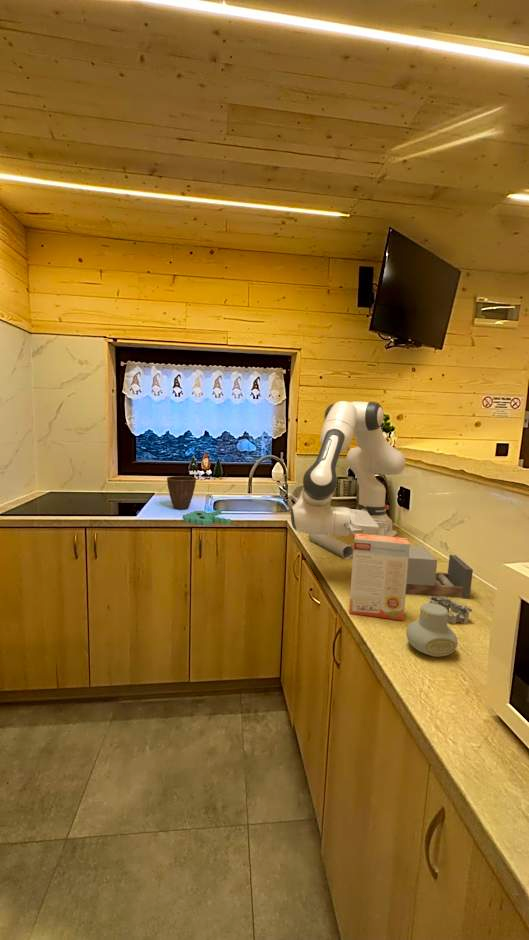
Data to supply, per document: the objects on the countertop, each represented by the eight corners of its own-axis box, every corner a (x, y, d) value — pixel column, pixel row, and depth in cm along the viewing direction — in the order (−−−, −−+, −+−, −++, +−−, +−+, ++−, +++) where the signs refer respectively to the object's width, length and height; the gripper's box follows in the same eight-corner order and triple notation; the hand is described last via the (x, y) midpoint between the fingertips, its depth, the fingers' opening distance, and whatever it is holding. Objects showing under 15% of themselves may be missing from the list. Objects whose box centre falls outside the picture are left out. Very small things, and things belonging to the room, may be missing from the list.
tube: (304, 531, 178) (340, 549, 155) (315, 526, 180) (352, 543, 158) (307, 542, 179) (343, 561, 157) (317, 537, 181) (355, 555, 159)
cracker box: (401, 611, 116) (408, 537, 113) (403, 621, 110) (410, 543, 108) (349, 604, 119) (354, 531, 116) (348, 613, 113) (354, 537, 111)
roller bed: (392, 593, 128) (395, 564, 127) (383, 577, 141) (385, 550, 140) (469, 598, 127) (472, 569, 126) (452, 581, 140) (455, 555, 138)
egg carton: (472, 625, 111) (474, 610, 111) (445, 625, 110) (447, 610, 110) (449, 606, 122) (451, 592, 121) (424, 606, 121) (426, 592, 120)
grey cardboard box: (400, 583, 127) (403, 557, 126) (390, 567, 140) (392, 544, 139) (434, 585, 127) (437, 559, 126) (421, 569, 140) (423, 546, 139)
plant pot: (160, 507, 223) (160, 477, 220) (183, 503, 234) (183, 475, 232) (178, 513, 213) (179, 481, 211) (201, 508, 224) (202, 478, 222)
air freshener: (415, 660, 93) (419, 617, 92) (399, 640, 101) (403, 600, 100) (462, 659, 94) (467, 616, 93) (443, 639, 103) (447, 600, 101)
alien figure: (220, 514, 217) (180, 515, 209) (220, 510, 216) (180, 511, 209) (231, 524, 198) (188, 526, 191) (231, 519, 198) (188, 521, 191)
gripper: (348, 519, 122) (397, 522, 121) (339, 505, 142) (381, 507, 141) (346, 541, 123) (395, 544, 122) (338, 523, 143) (380, 526, 142)
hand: (387, 524), depth 132 cm, fingers closed
